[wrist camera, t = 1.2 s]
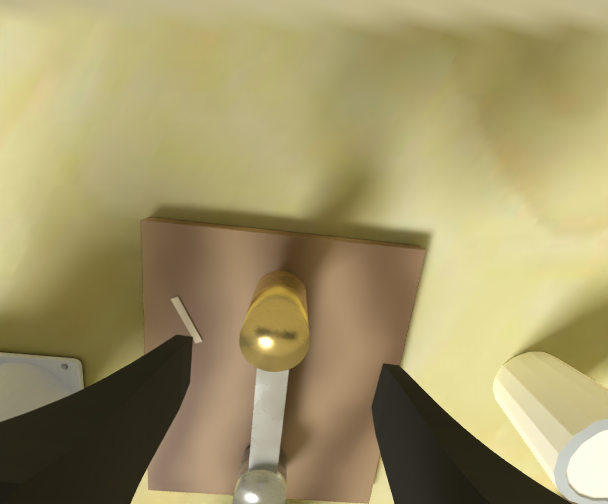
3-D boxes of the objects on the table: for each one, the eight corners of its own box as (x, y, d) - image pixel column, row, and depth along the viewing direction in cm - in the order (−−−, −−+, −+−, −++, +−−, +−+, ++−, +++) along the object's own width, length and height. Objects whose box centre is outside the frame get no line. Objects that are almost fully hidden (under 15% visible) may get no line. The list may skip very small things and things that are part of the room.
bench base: (154, 475, 26) (147, 491, 25) (149, 217, 20) (140, 220, 19) (365, 489, 27) (369, 504, 26) (418, 245, 21) (426, 250, 20)
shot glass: (504, 336, 23) (588, 406, 17) (587, 352, 24) (701, 426, 17) (472, 410, 25) (535, 500, 19) (550, 424, 26) (640, 516, 19)
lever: (239, 478, 25) (217, 599, 18) (255, 256, 20) (233, 306, 13) (284, 481, 25) (280, 602, 18) (312, 262, 20) (320, 314, 13)
